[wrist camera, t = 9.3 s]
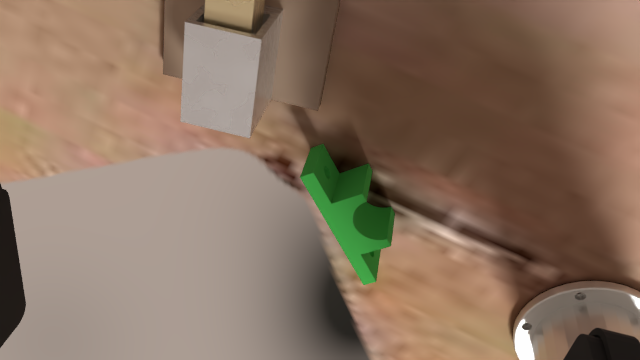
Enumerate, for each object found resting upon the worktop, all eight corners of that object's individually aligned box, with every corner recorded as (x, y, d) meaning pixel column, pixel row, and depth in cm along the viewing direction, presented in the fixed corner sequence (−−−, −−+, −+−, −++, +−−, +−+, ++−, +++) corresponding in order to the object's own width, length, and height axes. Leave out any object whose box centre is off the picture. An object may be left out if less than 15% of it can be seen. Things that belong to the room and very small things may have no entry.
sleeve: (283, 8, 42) (261, 39, 37) (271, 99, 45) (249, 138, 41) (215, -7, 42) (184, 21, 37) (209, 85, 46) (180, 121, 41)
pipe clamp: (409, 238, 52) (406, 274, 48) (369, 249, 54) (363, 285, 50) (352, 131, 47) (344, 162, 44) (310, 146, 49) (299, 178, 45)
